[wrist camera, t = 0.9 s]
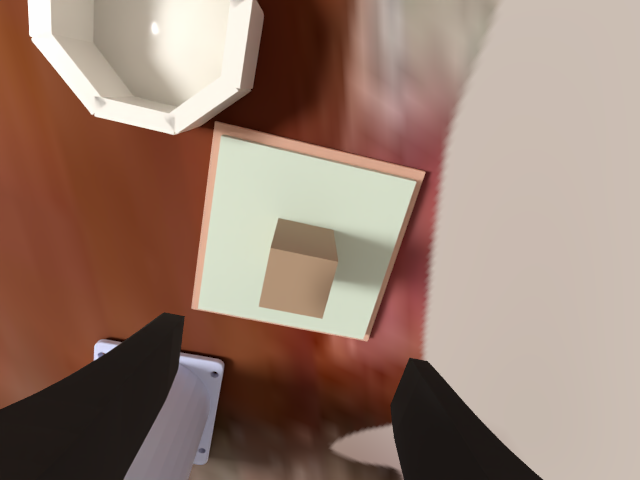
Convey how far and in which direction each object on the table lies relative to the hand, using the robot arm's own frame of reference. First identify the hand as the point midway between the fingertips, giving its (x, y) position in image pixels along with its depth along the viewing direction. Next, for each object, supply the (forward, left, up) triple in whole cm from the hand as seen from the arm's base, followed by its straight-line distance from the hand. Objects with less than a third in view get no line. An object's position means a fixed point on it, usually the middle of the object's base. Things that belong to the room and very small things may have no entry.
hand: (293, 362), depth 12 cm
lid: (0, 0, -10) cm, 10 cm away
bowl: (+9, +8, -10) cm, 16 cm away
